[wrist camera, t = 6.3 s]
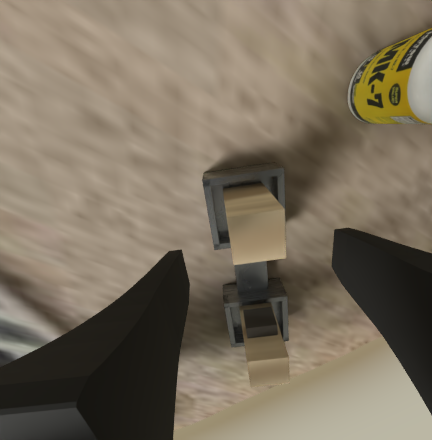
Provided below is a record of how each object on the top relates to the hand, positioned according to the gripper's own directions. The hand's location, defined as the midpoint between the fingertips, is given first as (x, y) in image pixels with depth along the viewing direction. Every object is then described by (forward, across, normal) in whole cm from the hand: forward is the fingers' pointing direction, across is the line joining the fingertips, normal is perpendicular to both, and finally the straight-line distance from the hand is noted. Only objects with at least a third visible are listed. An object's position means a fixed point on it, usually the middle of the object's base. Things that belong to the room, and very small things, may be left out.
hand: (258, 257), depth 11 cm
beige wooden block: (+8, 0, 0) cm, 8 cm away
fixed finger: (+8, 0, +12) cm, 15 cm away
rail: (+10, 0, +6) cm, 12 cm away
